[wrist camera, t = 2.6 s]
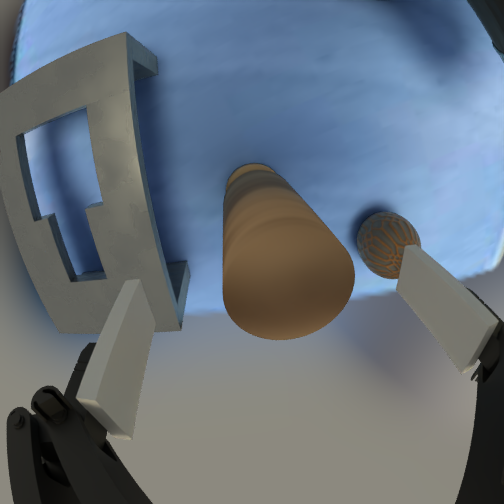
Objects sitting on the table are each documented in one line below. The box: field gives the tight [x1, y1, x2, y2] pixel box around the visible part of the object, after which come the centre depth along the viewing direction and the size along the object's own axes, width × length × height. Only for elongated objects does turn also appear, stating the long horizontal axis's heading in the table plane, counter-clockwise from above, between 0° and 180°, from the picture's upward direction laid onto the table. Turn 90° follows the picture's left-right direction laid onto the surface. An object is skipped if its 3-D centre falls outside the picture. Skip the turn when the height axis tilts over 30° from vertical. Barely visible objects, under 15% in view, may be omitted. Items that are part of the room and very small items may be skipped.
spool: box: [223, 163, 355, 340], centre depth 19 cm, size 6×6×17 cm
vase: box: [357, 212, 421, 279], centre depth 26 cm, size 7×7×9 cm
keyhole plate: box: [0, 32, 190, 334], centre depth 21 cm, size 24×14×9 cm, turn 5°
